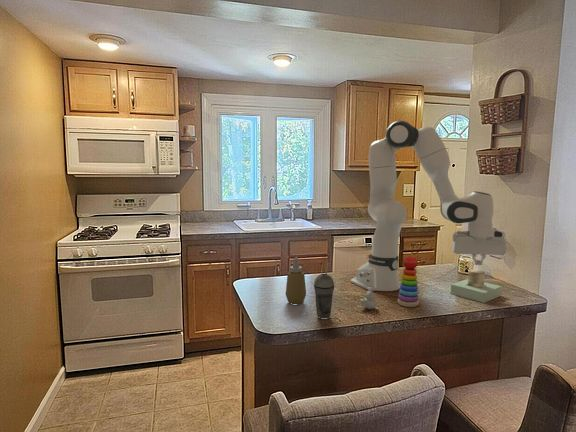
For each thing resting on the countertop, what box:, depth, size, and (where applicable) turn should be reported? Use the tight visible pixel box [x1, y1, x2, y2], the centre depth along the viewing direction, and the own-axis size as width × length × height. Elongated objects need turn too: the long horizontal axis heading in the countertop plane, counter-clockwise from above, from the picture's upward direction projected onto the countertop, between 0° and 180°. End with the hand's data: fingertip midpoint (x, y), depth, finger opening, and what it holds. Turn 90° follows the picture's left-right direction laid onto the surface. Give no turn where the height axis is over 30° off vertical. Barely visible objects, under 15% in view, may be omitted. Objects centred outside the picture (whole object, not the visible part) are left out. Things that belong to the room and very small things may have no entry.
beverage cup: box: [313, 261, 335, 319], centre depth 137 cm, size 7×7×20 cm
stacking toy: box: [397, 256, 420, 308], centre depth 151 cm, size 8×8×19 cm
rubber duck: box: [360, 289, 378, 310], centre depth 146 cm, size 5×7×8 cm
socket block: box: [450, 278, 502, 304], centre depth 163 cm, size 14×14×4 cm
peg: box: [467, 269, 486, 289], centre depth 163 cm, size 4×4×10 cm
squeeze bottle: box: [285, 257, 307, 305], centre depth 151 cm, size 8×8×18 cm
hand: (477, 264), depth 161 cm, fingers closed
